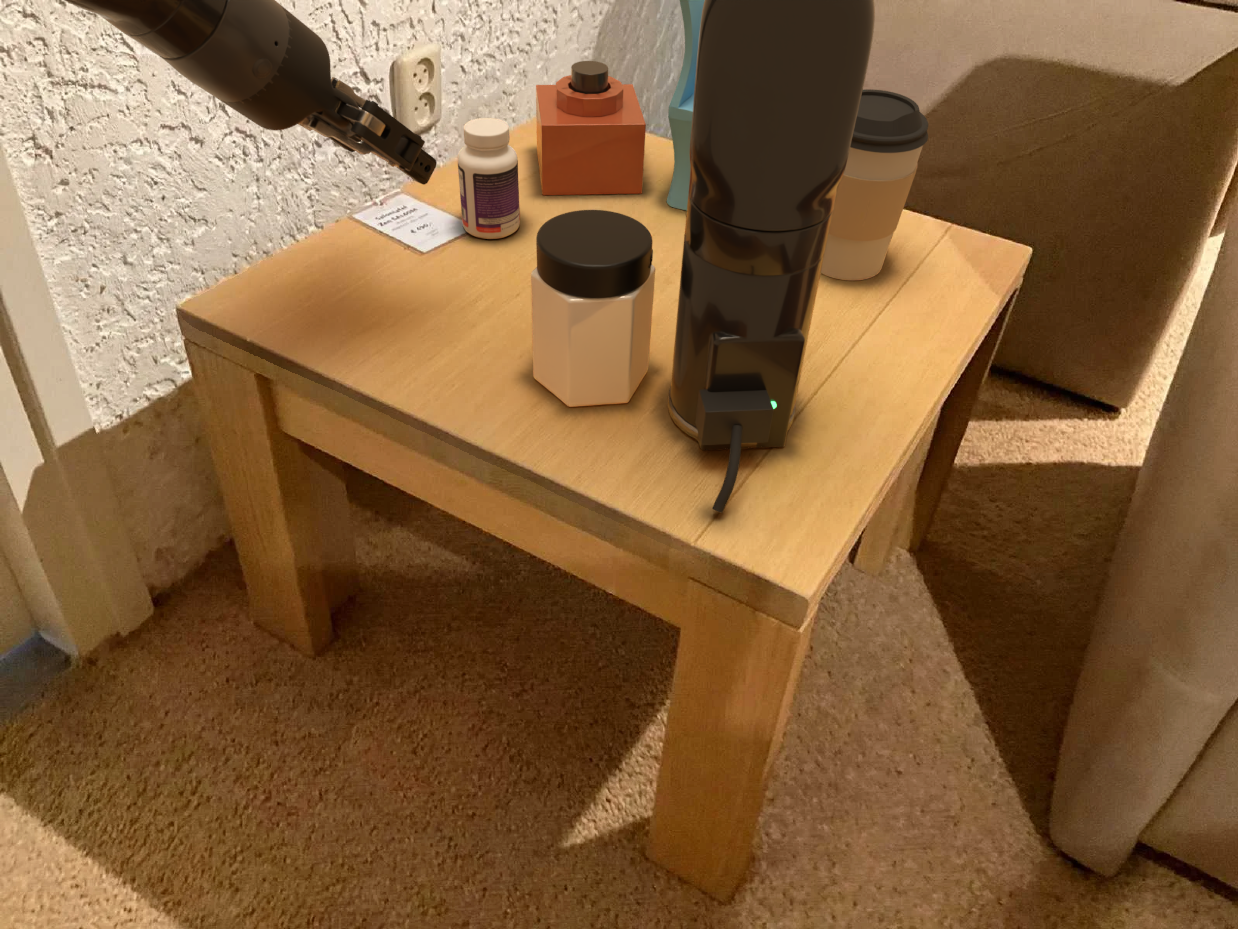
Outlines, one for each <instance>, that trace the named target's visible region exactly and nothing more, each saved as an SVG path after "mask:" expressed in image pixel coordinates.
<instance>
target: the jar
mask: <svg viewBox="0 0 1238 929" xmlns="http://www.w3.org/2000/svg"><path fill="white" fill-rule="evenodd" d="M535 239H536V240H535V242H536V243H535V244H536V267H535V268H534V269H533V270H532V271H531V273H530V285H531V286H530V288H531V290H530V292H531V294H530V296H531V329H532V331H531V332H532V335H531V336H532V376H533V378H534V379H535V380H536V381H537V382H538V383H539V384H541V385H542V386H543V387H544V388H545V389H547V390H548V391H549V392H551V394H553V396H555V397H556V398H558V399H559V400H560V401H561V402H562V403H563V404H564V405H566V406H567V407H570V408H574V407H587V406H588V407H591V406H603V405H617V404H618V405H619V404H627V403H629V402H630V400H631V399H632V397H633V396H634V394H635V392H636V391H637V389H638V387H639V386H640V384H641V382H642V381H643V379H644V377H645V376H646V374H647V373H648V370H649V367H650V366H649V364H650V363H649V362H650V351H651V349H650V348H651V338H652V337H651V335H652V323H653V322H652V321H653V311H654V310H653V308H654V294H655V281H656V267H655V265H653V257H654V249H653V236H652V234H651V232H650V231H649V229H648V228H647V226H645V225H644V224H643V223H642V222H640V221H639V220H637V219H635V218H634V217H631V216H629V215H626V214H623V213H620V212H615V211H611V210H604V209H580V210H579V209H578V210H572V211H568V212H564V213H561V214H558V215H556V216H554V217H551V218H550V219H548V220H546V221H545V222H544V223H543V224H542V225H541V226H540V228H539V229H538V231H537V233H536V238H535Z"/></svg>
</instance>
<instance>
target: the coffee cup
mask: <svg viewBox="0 0 1238 929" xmlns="http://www.w3.org/2000/svg"><path fill="white" fill-rule="evenodd" d="M928 129H929V121H928V120H927V117H926V116H925V115H924V114H923V113H922V112H921V111H920V107H919V104H918V103H917V102H916V101H914V100H913V99H912V98H910V97H907V95H906V96H905V95H903V94H900V93H898V92H893V91H890V90H889V91H888V90H883V89H871V88H869V89H867V88H866V89H863V91H862V95H861V100H860V105H859V109H858V114H857V118H856V123H855V128H854V132H853V137H852V141H851V146H850V150H849V155H848V160H847V165H846V168H845V172H844V174H843V177H842V179H841V181H840V183H839V187H838V191H837V196H836V201H835V205H834V209H833V215H832V220H831V225H830V230H829V235H828V240H827V245H826V250H825V254H824V259H823V264H822V269H821V275H824V276H827V277H830V278H833V279H837V280H843V281H863V280H867V279H871V278H873V277H875V276H877V275H878V274H879V273H881V271H882V268H883V265H884V263H885V259H886V256H887V254H888V251H889V248H890V245H891V242H892V240H893V236H894V234H895V231H897V228H898V225H899V223H900V219H901V217H902V215H903V214H902V213H903V210H904V208H905V204H906V202H907V200H908V196H909V194H910V191H911V188H912V185H913V181H914V179H915V177H916V173H917V170H918V168H919V163H918V161H919V159H920V156H921V152H922V150H923V147H924V145H925V144H927V142H928V140H929V133H928Z"/></svg>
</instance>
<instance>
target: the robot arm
mask: <svg viewBox="0 0 1238 929" xmlns="http://www.w3.org/2000/svg"><path fill="white" fill-rule="evenodd" d="M63 1H64V2H66V3H69V4H71V5H73V6H75V7H77V8H80V9H82V10H85V11H87V12H90V13H93V14H96V15H98V16H100V17H101V18H103V20H105V21H106V22H107V23H109V25H112V26H113V27H114V28H116V29H117V30H119V31H120V32H121V33H123V34H125V35H126V36H127V37H128V38H131V39H132V40H133V41H135V42H137V43H138V44H140V45H141V46H143V47H144V48H145V49H147V50H149V51H151V52H152V53H153V54H155V55H157V56H158V57H159V58H161V59H163V60H164V61H165V62H166V63H167V64H169V66H171V67H172V68H173V69H174V70H175V71H176V72H178V73H179V74H180V75H181V76H183V77H184V78H185V79H187V80H188V81H190V82H191V83H192V84H194V85H196V86H197V87H198V88H200V89H201V90H204V91H205V92H206V93H208V94H210V95H211V96H212V97H214V98H216V99H217V100H218V101H220V102H222V103H223V104H224V105H226V106H228V107H229V108H230V109H232V110H234V111H236V112H237V113H239V114H240V115H242V116H243V117H245V118H246V119H248V120H250V121H251V122H252V123H254V124H256V125H257V126H259V127H260V128H263V129H265V130H267V131H268V130H269V131H283V130H288V129H290V128H293V127H295V126H296V125H298V126H300V127H302V128H303V129H305V130H307V131H309V132H311V131H314V132H315V133H317V134H319V135H321V136H323V137H325V138H328V139H330V140H331V141H332V142H333V143H335V144H337V145H338V146H339V147H341V148H342V149H344V150H346V151H348V152H350V153H354V152H357V153H358V154H360V155H368V154H369V155H370V154H373V155H375V156H377V157H378V158H380V159H381V160H383V161H385V162H386V163H387V165H388V166H390V167H393V168H394V167H395V168H397V169H398V170H400V171H401V172H402V173H403V174H405V175H407V177H409V178H410V179H412V180H413V181H414V182H416V183H419V184H421V185H426V184H428V182H429V181H430V179H431V177H432V175H433V173H434V171H435V169H436V167H437V163H438V162H437V160H436V158H435V157H433V156H432V155H430V154H429V153H428V152H427V151H425V150H424V149H423V148H424V145H425V143H426V141H425V140H424V139H423V138H422V136H421V135H419V134H417V133H415V132H413V130H411V129H409V128H408V127H407V126H406V125H404V124H403V123H402V122H400V121H399V120H398V119H397V118H395V117H394V116H393V115H391V113H389V112H388V111H386V110H385V109H384V108H382V107H381V106H379V103H378V102H376V101H374V100H369V99H364V98H363V97H361V96H360V95H358V94H357V93H355V91H354V89H353V88H352V86H350V85H349V84H347V83H345V82H344V81H342V80H340V79H339V78H337V77H335V76H332V75H331V72H332V71H331V67H332V66H331V57H330V53H329V50H328V47H327V45H326V44H325V42H324V39H322V38H321V37H320V36H319V35H318V33H316V32H315V31H314V30H312V29H311V28H310V27H309V26H308V25H306V24H305V23H304V22H302V21H301V20H300V19H299V18H298V17H296V16H295V15H294V14H293V13H292V12H290V11H289V10H288V9H286V8H285V7H284V6H283V5H282V4H281V3H279V2H278V1H277V0H63ZM875 19H876V5H875V0H705V1H704V5H703V10H702V16H701V24H700V32H699V42H698V52H697V64H696V77H695V89H694V102H693V116H692V129H691V140H690V183H689V194H688V204H687V211H686V217H685V228H684V235H683V236H684V237H683V245H682V246H683V247H682V258H681V268H680V269H681V270H680V279H679V290H678V291H679V292H678V300H677V301H678V302H677V311H676V312H677V313H676V323H675V332H674V344H673V356H672V369H671V370H672V372H671V380H670V381H671V382H670V387H669V389H668V398H667V408H668V413H669V416H670V419H672V421H673V422H674V424H675V425H676V426H677V427H678V428H679V429H680V430H681V431H682V432H683V433H684V434H686V435H687V436H689V437H691V438H692V439H694V440H696V441H697V443H698V447H699V449H700V450H702V451H720V450H721V451H722V450H724V451H725V450H729V453H728V454H729V455H728V463H727V468H726V472H725V475H724V476H725V477H724V479H723V482H722V485H721V487H720V490H719V491H718V495H717V497H716V499H715V501H714V503H713V505H712V508H711V509H712V510H713V511H715V512H717V513H721V514H723V512H724V511H725V508H726V506H727V504H728V502H729V499H730V497H731V495H732V493H733V490H734V488H735V485H736V481H737V478H738V473H739V469H740V464H741V463H740V462H741V453H742V452H741V451H742V450H748V449H764V448H765V449H766V448H782V447H785V445H786V440H787V436H788V432H789V430H790V429H791V427H792V425H793V422H794V418H795V414H796V406H797V405H796V404H797V403H796V401H797V396H798V391H799V385H800V382H801V381H800V380H801V376H802V371H803V370H802V369H803V365H804V360H805V355H806V351H807V350H806V349H807V344H808V338H809V335H810V329H811V325H812V324H811V323H812V319H813V315H814V314H813V313H814V309H815V304H816V299H817V294H818V288H819V284H820V279H821V275H822V273H821V269H822V264H823V259H824V254H825V250H826V245H827V240H828V235H829V230H830V225H831V220H832V215H833V209H834V205H835V201H836V196H837V191H838V187H839V183H840V181H841V179H842V177H843V174H844V172H845V168H846V165H847V160H848V155H849V150H850V146H851V141H852V137H853V132H854V128H855V123H856V118H857V114H858V109H859V105H860V100H861V95H862V91H863V90H864V86H865V80H866V76H867V72H868V66H869V61H870V55H871V51H872V45H873V38H874V33H875V32H874V31H875V23H876V22H875V21H876V20H875Z"/></svg>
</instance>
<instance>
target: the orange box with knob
mask: <svg viewBox="0 0 1238 929" xmlns="http://www.w3.org/2000/svg"><path fill="white" fill-rule="evenodd" d="M639 102H640V101H639V99H638V96H637V93H636V90H635V87H634V84H632V83H630V84H628V83H627V84H624V83H622V81H620V80H618V79H616V78H614V77H613V76H610V75H608V91H607V92H604V93H599V94H583V93H578V92H575V91H573V90H571V74H569V75H566V76H565V75H564V76H562V77H561V78H560V79H558V80H557V81H556V82H555V84H536V85H535V106H536V108H535V112H536V113H535V114H536V115H535V117H536V118H535V119H536V120H535V122H536V124H535V125H536V155H537V161H538V162H537V164H538V169H539V170H538V171H539V178H540V186H541V193H542V196H572V195H573V196H576V195H577V196H578V195H627V194H629V195H631V194H632V195H634V194H637V195H638V194H642V193H643V182H644V165H645V164H644V163H645V147H646V146H645V145H646V130H647V123H646V121H645V118H644V115H643V111H642V108H641V105H640V103H639Z"/></svg>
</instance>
